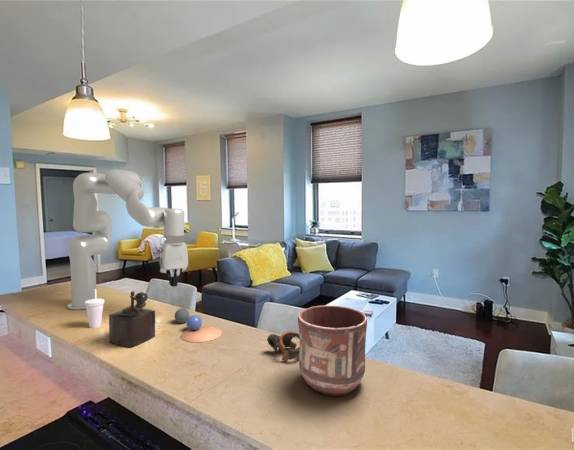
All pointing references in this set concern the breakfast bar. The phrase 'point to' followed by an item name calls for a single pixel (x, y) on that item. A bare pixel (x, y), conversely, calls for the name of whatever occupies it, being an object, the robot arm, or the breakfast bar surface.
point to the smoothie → (94, 311)
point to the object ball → (194, 322)
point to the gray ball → (181, 315)
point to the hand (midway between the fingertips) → (173, 285)
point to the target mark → (201, 334)
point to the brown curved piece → (284, 344)
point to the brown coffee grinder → (132, 323)
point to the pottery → (332, 348)
